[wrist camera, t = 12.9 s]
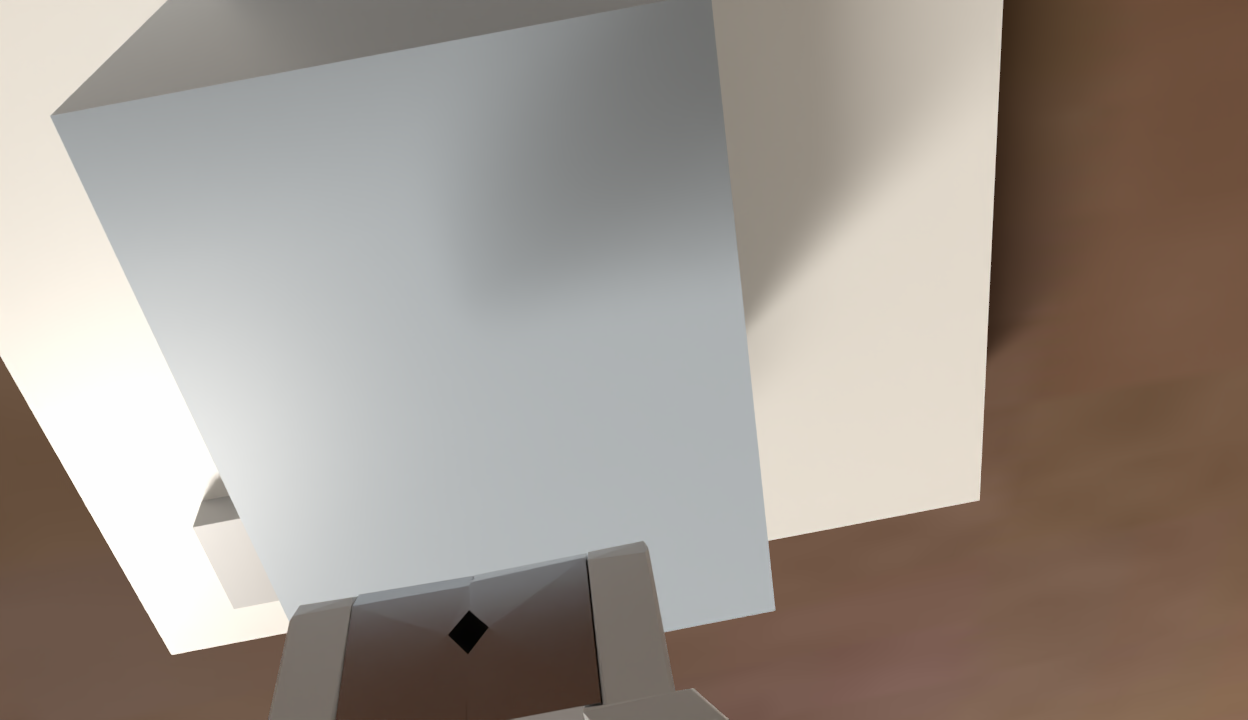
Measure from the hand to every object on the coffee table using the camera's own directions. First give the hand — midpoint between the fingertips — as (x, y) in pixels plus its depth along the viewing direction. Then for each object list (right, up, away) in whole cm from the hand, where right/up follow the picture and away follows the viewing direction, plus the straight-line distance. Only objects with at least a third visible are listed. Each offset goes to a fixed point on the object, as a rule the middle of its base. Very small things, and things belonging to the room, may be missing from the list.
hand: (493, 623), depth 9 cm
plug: (-1, +5, +10) cm, 11 cm away
